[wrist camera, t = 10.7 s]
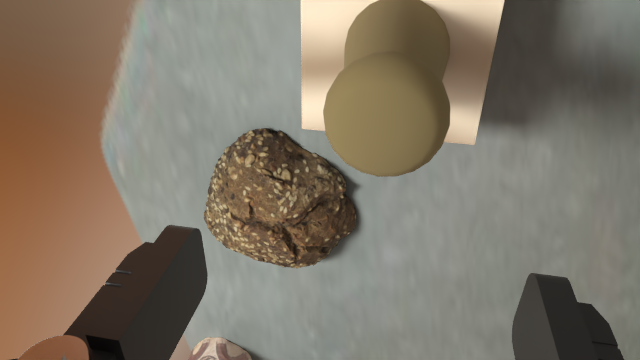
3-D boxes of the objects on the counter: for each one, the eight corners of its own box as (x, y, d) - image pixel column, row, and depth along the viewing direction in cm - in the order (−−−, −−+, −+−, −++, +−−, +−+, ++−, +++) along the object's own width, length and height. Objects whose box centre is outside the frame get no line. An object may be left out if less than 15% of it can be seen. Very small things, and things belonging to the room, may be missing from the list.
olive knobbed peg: (393, -29, 25) (376, 20, 16) (473, 45, 26) (500, 130, 17) (324, 55, 28) (276, 137, 19) (399, 118, 30) (388, 224, 20)
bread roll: (195, 213, 44) (171, 248, 40) (243, 108, 37) (220, 136, 33) (316, 276, 45) (305, 315, 41) (383, 184, 39) (379, 220, 34)
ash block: (317, -66, 30) (300, -58, 25) (501, -61, 28) (515, -51, 24) (316, 99, 35) (302, 128, 31) (468, 112, 34) (474, 144, 30)
